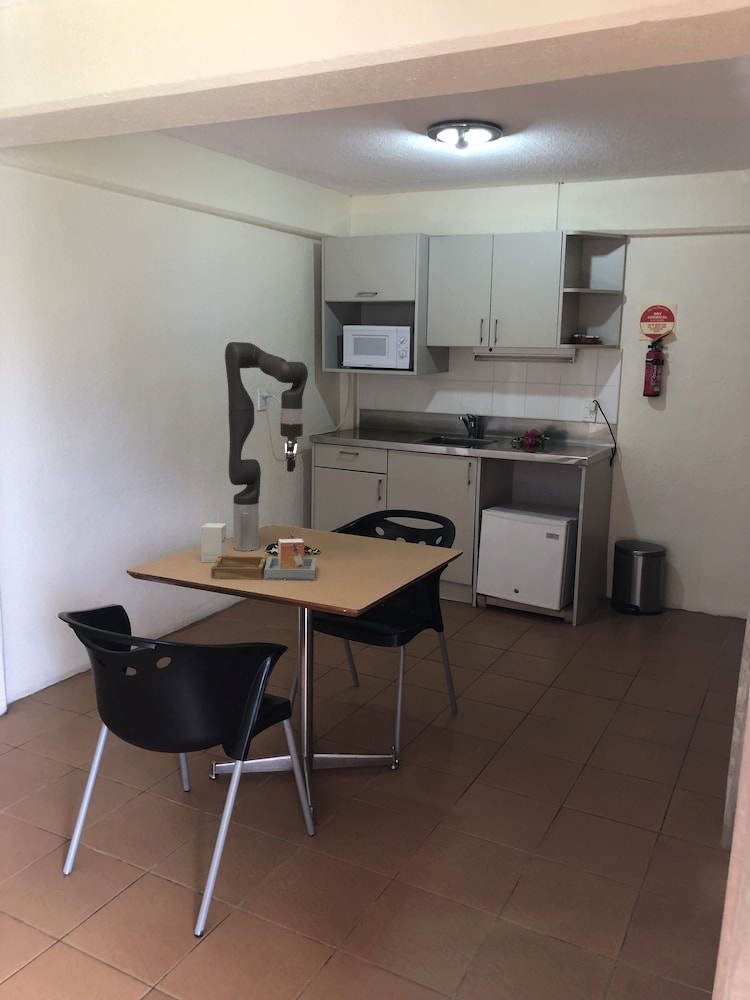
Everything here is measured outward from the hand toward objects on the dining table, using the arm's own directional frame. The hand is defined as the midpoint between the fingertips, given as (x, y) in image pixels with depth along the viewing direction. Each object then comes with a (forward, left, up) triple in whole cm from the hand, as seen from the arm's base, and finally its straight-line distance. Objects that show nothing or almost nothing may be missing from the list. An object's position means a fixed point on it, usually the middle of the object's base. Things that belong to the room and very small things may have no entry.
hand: (291, 469), depth 280 cm
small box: (+12, +1, -32) cm, 35 cm away
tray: (+12, +1, -33) cm, 35 cm away
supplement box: (-4, -27, -33) cm, 43 cm away
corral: (+12, -16, -33) cm, 39 cm away
